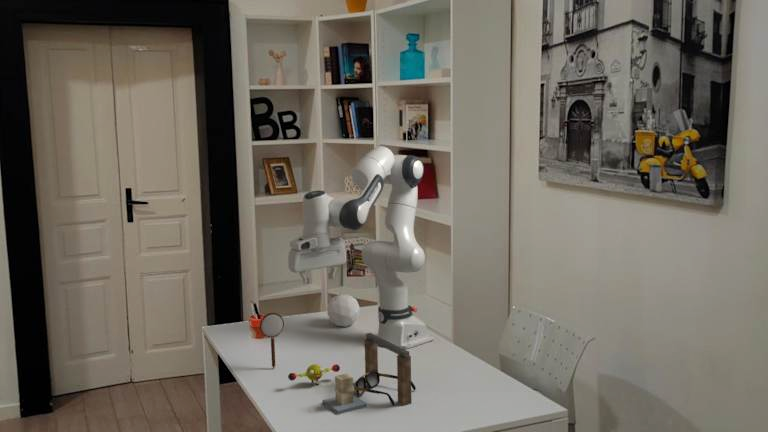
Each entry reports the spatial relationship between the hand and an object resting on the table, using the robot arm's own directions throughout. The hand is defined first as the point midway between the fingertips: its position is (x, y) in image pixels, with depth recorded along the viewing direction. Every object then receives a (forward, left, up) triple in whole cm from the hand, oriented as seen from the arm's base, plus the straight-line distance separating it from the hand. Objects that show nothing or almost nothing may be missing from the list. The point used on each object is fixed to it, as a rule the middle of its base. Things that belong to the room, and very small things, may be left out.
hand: (318, 281), depth 251 cm
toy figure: (+6, +7, -33) cm, 34 cm away
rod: (-10, +26, -18) cm, 33 cm away
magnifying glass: (+11, -15, -33) cm, 38 cm away
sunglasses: (-8, +27, -33) cm, 43 cm away
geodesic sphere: (-34, -46, -33) cm, 66 cm away
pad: (+6, +27, -33) cm, 43 cm away
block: (+6, +27, -32) cm, 42 cm away
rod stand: (-10, +26, -33) cm, 43 cm away
